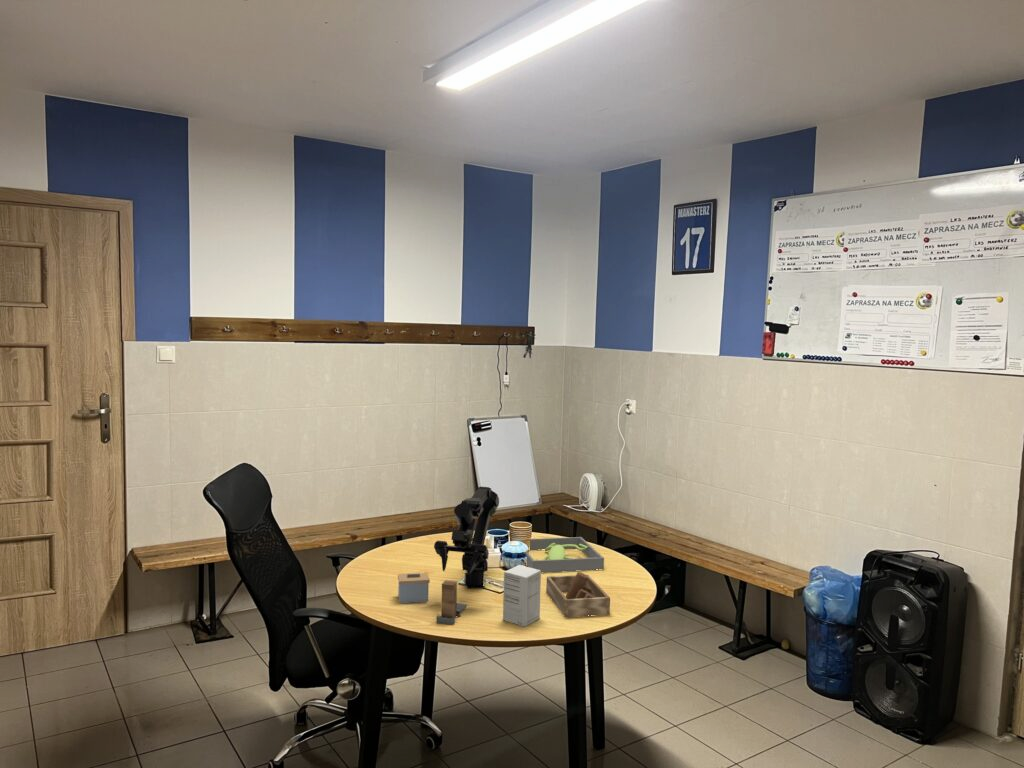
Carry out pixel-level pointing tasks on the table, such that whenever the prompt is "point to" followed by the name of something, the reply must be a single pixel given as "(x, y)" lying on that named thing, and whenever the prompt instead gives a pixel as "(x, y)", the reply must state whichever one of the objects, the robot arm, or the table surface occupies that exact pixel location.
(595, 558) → the tray
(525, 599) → the supplement box
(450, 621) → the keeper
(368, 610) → the table surface
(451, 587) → the brown block
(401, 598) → the toolbox
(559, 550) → the figurine
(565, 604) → the block corral
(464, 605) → the pad
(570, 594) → the wooden block set
